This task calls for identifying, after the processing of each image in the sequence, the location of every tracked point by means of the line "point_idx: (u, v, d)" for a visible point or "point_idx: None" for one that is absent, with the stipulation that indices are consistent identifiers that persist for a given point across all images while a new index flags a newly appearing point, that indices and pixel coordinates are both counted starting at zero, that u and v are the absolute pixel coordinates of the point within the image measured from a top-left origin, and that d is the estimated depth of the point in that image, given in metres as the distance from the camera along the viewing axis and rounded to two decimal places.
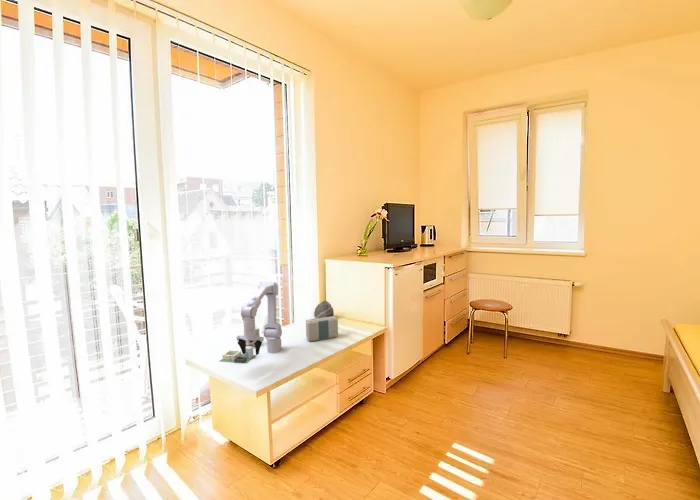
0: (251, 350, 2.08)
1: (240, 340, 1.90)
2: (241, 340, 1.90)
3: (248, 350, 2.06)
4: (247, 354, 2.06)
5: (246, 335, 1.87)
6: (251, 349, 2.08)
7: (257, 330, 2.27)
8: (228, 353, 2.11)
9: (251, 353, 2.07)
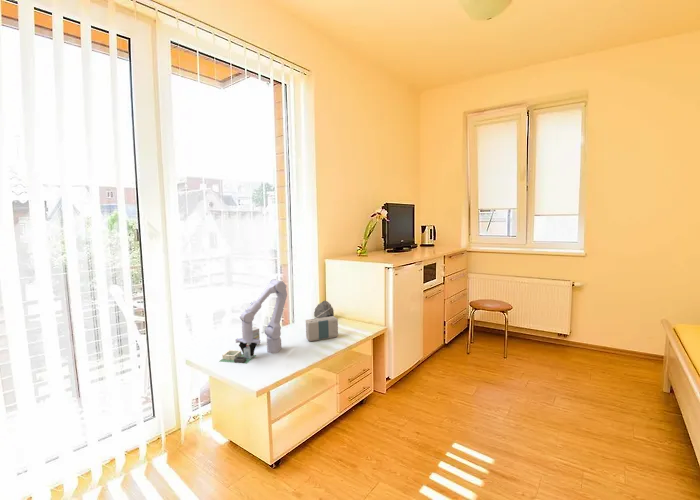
0: None
1: None
2: (240, 343, 2.08)
3: (248, 350, 2.06)
4: (247, 354, 2.06)
5: (244, 338, 2.05)
6: None
7: (257, 330, 2.27)
8: (228, 353, 2.11)
9: None
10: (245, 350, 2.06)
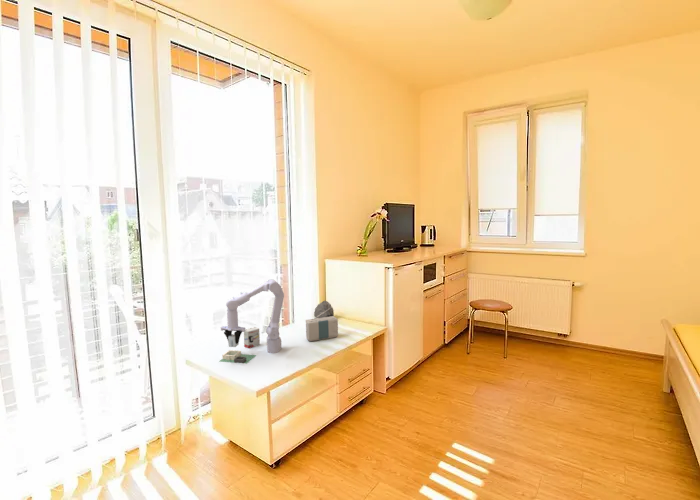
0: None
1: None
2: (225, 330, 2.08)
3: (233, 338, 2.06)
4: (232, 342, 2.06)
5: (229, 326, 2.05)
6: None
7: (257, 330, 2.27)
8: (228, 353, 2.11)
9: None
10: (230, 338, 2.06)
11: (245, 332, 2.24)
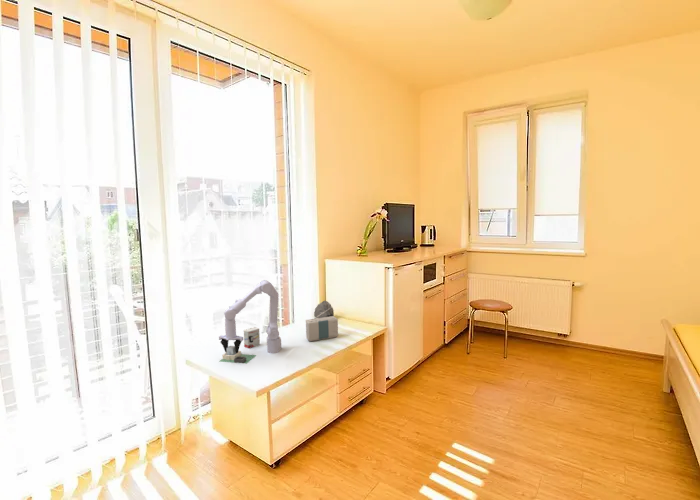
0: (234, 350, 2.08)
1: (222, 339, 2.09)
2: (223, 339, 2.09)
3: (231, 350, 2.07)
4: (230, 354, 2.07)
5: (227, 335, 2.06)
6: (234, 349, 2.08)
7: (257, 330, 2.27)
8: None
9: (234, 352, 2.08)
10: (228, 350, 2.07)
11: (245, 332, 2.24)
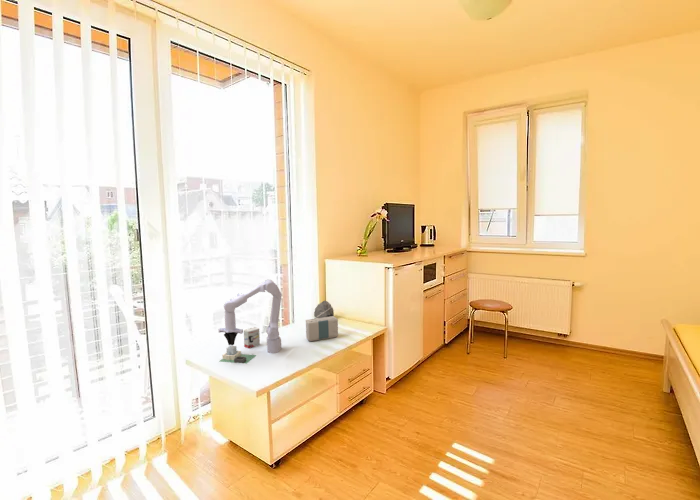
0: (234, 350, 2.08)
1: None
2: None
3: (231, 350, 2.07)
4: (230, 354, 2.07)
5: (227, 327, 2.05)
6: (234, 349, 2.08)
7: (257, 330, 2.27)
8: None
9: (234, 352, 2.08)
10: (228, 350, 2.07)
11: (245, 332, 2.24)
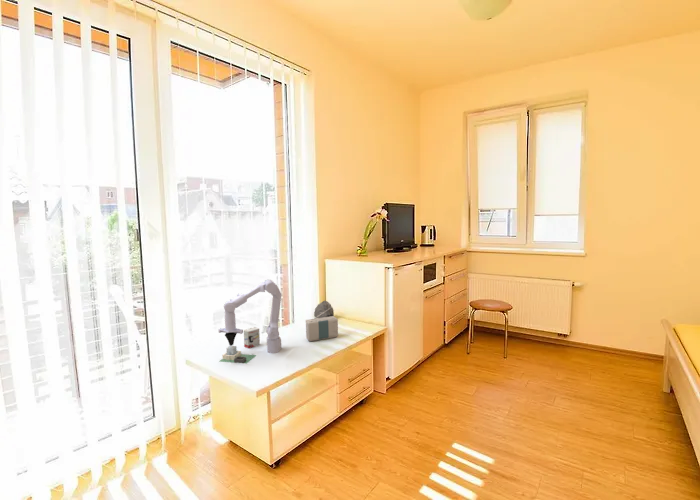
0: (234, 350, 2.08)
1: None
2: None
3: (231, 350, 2.07)
4: (230, 354, 2.07)
5: (227, 328, 2.05)
6: (234, 349, 2.08)
7: (257, 330, 2.27)
8: None
9: (234, 352, 2.08)
10: (228, 350, 2.07)
11: (245, 332, 2.24)
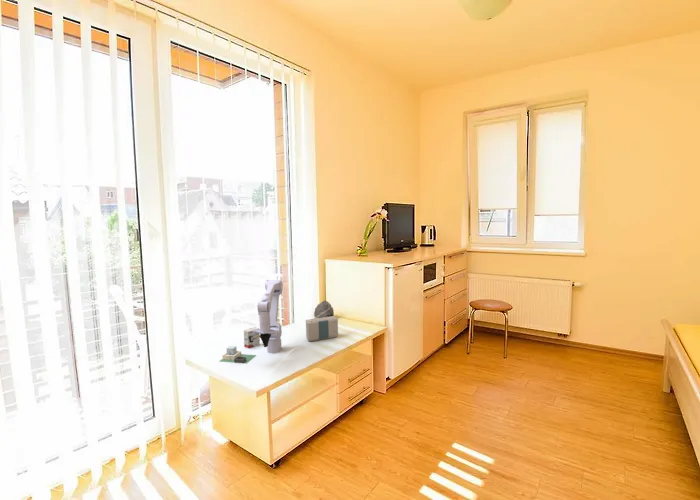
0: (234, 350, 2.08)
1: None
2: (257, 333, 2.00)
3: (231, 350, 2.07)
4: (230, 354, 2.07)
5: (262, 329, 1.97)
6: (234, 349, 2.08)
7: None
8: None
9: (234, 352, 2.08)
10: (228, 350, 2.07)
11: (245, 332, 2.24)
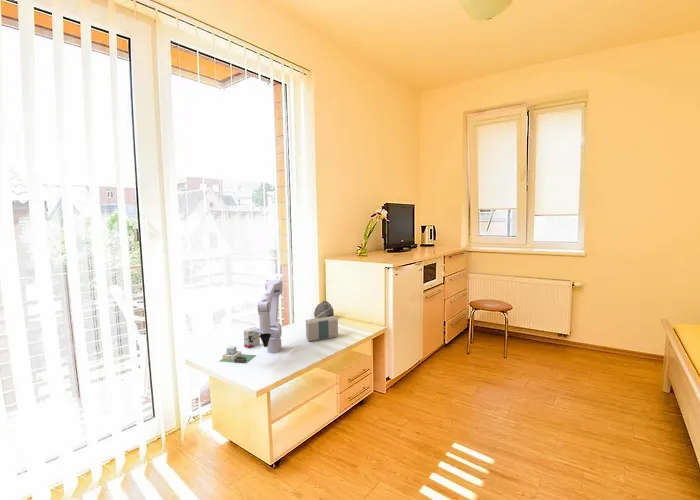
0: (234, 350, 2.08)
1: None
2: (257, 333, 2.00)
3: (231, 350, 2.07)
4: (230, 354, 2.07)
5: (262, 329, 1.97)
6: (234, 349, 2.08)
7: None
8: None
9: (234, 352, 2.08)
10: (228, 350, 2.07)
11: (245, 332, 2.24)
